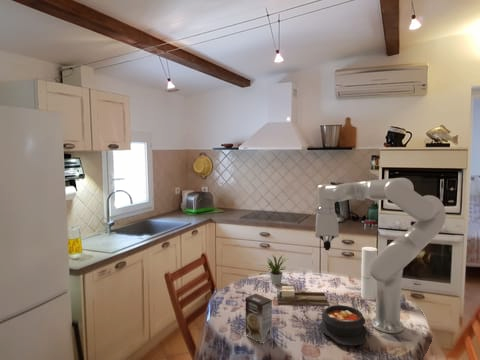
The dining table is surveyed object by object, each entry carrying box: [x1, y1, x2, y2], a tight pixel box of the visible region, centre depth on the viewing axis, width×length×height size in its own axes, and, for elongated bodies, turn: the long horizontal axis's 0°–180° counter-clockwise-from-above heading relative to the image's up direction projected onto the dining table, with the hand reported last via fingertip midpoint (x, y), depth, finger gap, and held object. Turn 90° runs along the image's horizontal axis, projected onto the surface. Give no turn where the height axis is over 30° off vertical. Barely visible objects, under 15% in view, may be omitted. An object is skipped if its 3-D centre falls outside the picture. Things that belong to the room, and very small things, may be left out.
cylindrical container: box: [360, 246, 378, 301], centre depth 175 cm, size 7×7×25 cm
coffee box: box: [245, 293, 273, 344], centre depth 140 cm, size 9×6×16 cm
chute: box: [276, 288, 329, 307], centre depth 174 cm, size 12×24×4 cm, turn 85°
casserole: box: [319, 304, 368, 346], centre depth 142 cm, size 25×19×8 cm
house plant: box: [266, 254, 288, 286], centre depth 195 cm, size 14×14×16 cm
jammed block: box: [281, 285, 296, 298], centre depth 175 cm, size 6×6×4 cm
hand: (327, 249), depth 163 cm, fingers closed
